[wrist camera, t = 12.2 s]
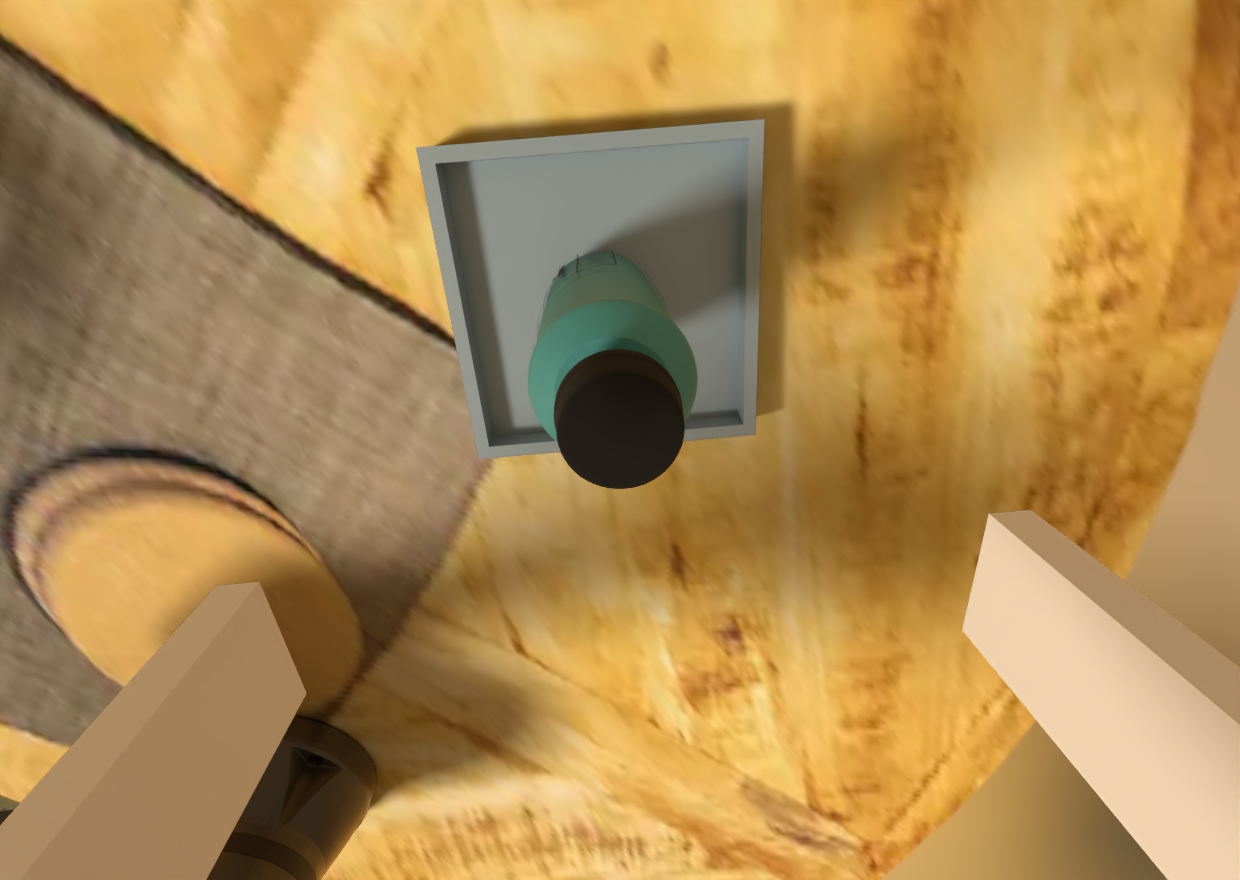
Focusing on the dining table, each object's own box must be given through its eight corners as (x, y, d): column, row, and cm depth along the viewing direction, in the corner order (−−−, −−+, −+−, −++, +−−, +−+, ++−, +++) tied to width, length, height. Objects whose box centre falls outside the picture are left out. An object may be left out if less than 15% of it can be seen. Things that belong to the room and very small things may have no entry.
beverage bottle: (556, 234, 33) (520, 301, 15) (667, 259, 34) (760, 351, 16) (538, 343, 36) (489, 512, 18) (642, 363, 37) (697, 545, 19)
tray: (485, 442, 39) (478, 459, 37) (428, 149, 32) (416, 147, 30) (745, 419, 40) (755, 434, 37) (752, 122, 32) (764, 119, 30)
